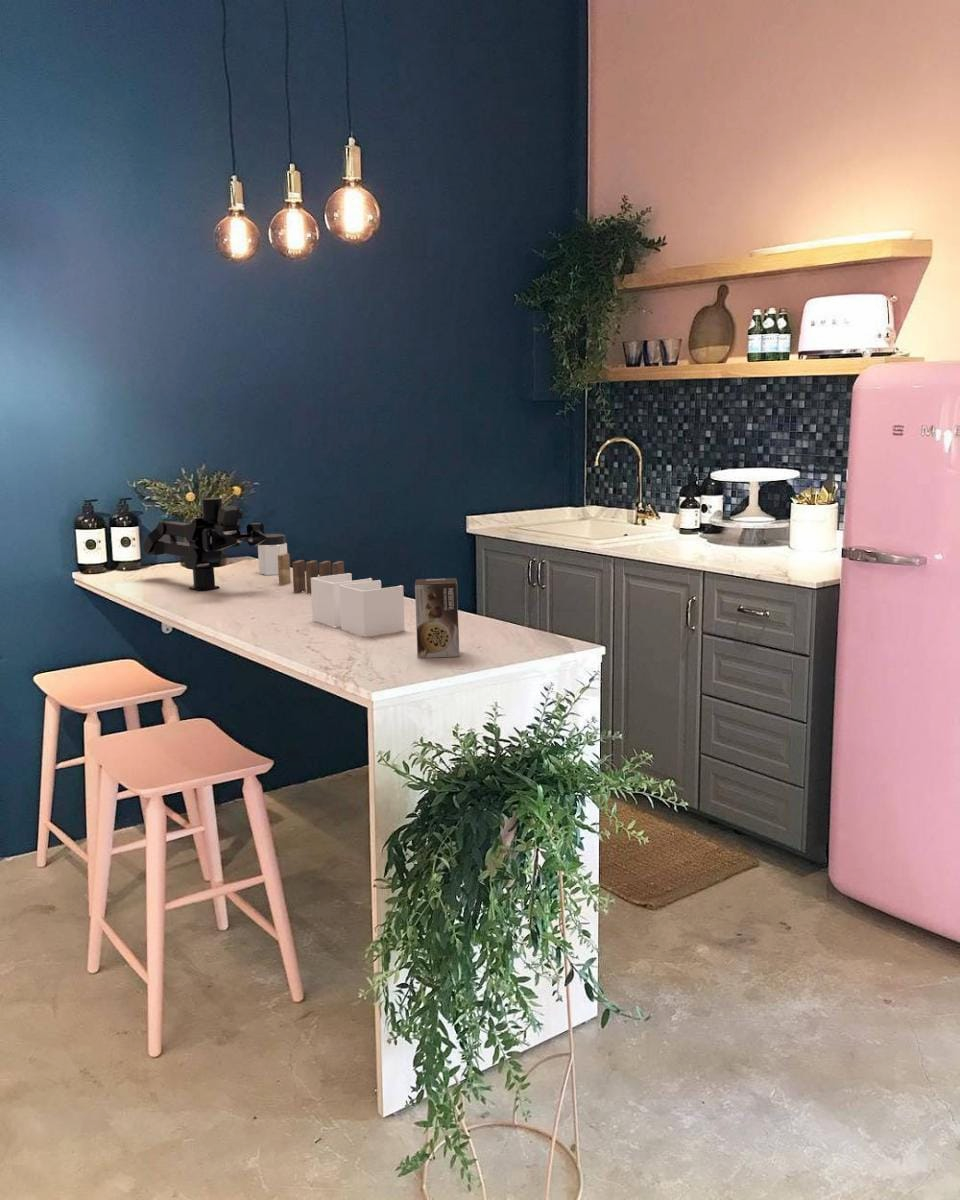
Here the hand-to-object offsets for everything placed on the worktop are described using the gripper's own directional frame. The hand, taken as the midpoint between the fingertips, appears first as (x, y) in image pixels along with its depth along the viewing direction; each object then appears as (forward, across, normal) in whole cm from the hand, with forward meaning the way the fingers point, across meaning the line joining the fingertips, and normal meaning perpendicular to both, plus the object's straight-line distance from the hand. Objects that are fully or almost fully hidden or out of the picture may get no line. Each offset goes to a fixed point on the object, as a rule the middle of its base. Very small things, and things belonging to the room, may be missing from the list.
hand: (251, 539), depth 306 cm
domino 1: (-14, +20, +17) cm, 30 cm away
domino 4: (+8, +19, +17) cm, 26 cm away
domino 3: (+4, +17, +17) cm, 24 cm away
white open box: (+50, -4, +17) cm, 53 cm away
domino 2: (+1, +15, +17) cm, 22 cm away
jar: (-33, +30, +17) cm, 48 cm away
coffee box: (+87, -12, +17) cm, 89 cm away
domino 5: (+11, +21, +17) cm, 29 cm away
